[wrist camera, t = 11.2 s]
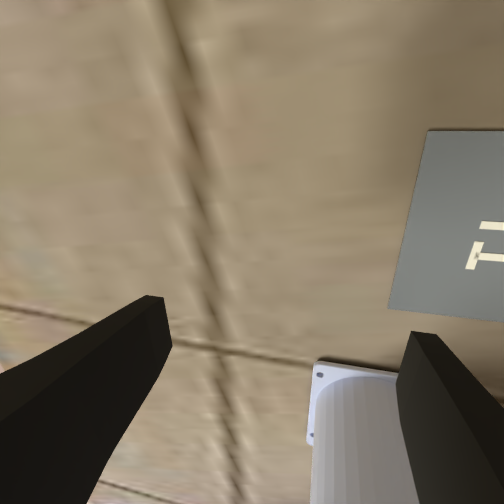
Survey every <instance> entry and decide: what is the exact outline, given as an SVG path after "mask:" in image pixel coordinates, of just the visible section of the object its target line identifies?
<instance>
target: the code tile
mask: <svg viewBox="0 0 504 504" xmlns="http://www.w3.org/2000/svg"><path fill="white" fill-rule="evenodd" d="M387 308H388V309H394V310H402V311H411V312H419V313H428V314H436V315H445V316H453V317H462V318H470V319H479V320H487V321H496V322H504V131H428V132H427V136H426V140H425V145H424V149H423V154H422V158H421V162H420V167H419V171H418V176H417V180H416V184H415V189H414V193H413V197H412V202H411V206H410V211H409V215H408V219H407V224H406V228H405V233H404V237H403V241H402V246H401V250H400V255H399V259H398V263H397V268H396V272H395V277H394V281H393V285H392V290H391V294H390V298H389V303H388V307H387Z"/></svg>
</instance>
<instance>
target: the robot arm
mask: <svg viewBox="0 0 504 504" xmlns="http://www.w3.org/2000/svg"><path fill="white" fill-rule="evenodd" d="M171 348H172V340H171V335H170V330H169V324H168V319H167V314H166V308H165V303H164V298H163V297H156V296H149V295H145V296H143V297H141V298H139V299H138V300H136V301H134V302H132V303H130V304H129V305H127V306H125V307H123V308H122V309H120V310H118V311H117V312H115V313H113V314H111V315H110V316H108V317H106V318H105V319H103V320H101V321H99V322H98V323H96V324H94V325H92V326H91V327H89V328H87V329H86V330H84V331H82V332H80V333H79V334H77V335H75V336H73V337H71V338H69V339H68V340H66V341H64V342H62V343H60V344H58V345H56V346H55V347H53V348H51V349H49V350H47V351H45V352H43V353H42V354H40V355H38V356H36V357H34V358H32V359H30V360H28V361H26V362H24V363H22V364H20V365H18V366H16V367H14V368H11V369H9V370H7V371H5V372H3V373H1V374H0V504H87V502H88V500H89V498H90V496H91V494H92V492H93V490H94V488H95V486H96V484H97V482H98V480H99V478H100V476H101V474H102V472H103V470H104V468H105V466H106V464H107V462H108V460H109V458H110V456H111V455H112V453H113V451H114V449H115V448H116V446H117V444H118V442H119V441H120V439H121V438H122V436H123V434H124V433H125V431H126V429H127V428H128V426H129V425H130V423H131V421H132V420H133V418H134V416H135V415H136V413H137V411H138V410H139V408H140V407H141V405H142V403H143V402H144V400H145V398H146V397H147V395H148V393H149V392H150V390H151V389H152V387H153V385H154V384H155V382H156V380H157V378H158V377H159V375H160V373H161V371H162V369H163V366H164V364H165V362H166V360H167V358H168V355H169V353H170V351H171ZM318 372H321V373H318ZM306 442H307V443H308V444H309V445H311V446H313V456H312V474H311V492H310V504H504V408H503V407H502V406H501V405H500V404H499V403H498V402H497V401H496V400H495V399H494V398H493V397H492V396H491V394H490V393H489V392H488V391H487V390H486V389H485V388H484V387H483V386H482V385H481V384H480V382H479V381H478V380H477V379H476V378H475V377H474V376H473V375H472V374H471V372H470V371H469V370H468V369H467V368H466V367H465V366H464V365H463V364H462V362H461V361H460V360H459V359H458V358H457V357H456V356H455V354H454V353H453V352H452V351H451V350H450V349H449V348H448V347H447V345H446V344H445V343H444V342H443V341H442V340H441V339H440V338H439V337H438V335H437V334H430V333H422V332H415V331H411V333H410V337H409V340H408V343H407V347H406V350H405V353H404V357H403V360H402V363H401V367H400V370H399V373H394V372H388V371H382V370H375V369H369V368H363V367H356V366H350V365H344V364H337V363H331V362H325V361H317V362H315V363H314V366H313V376H312V386H311V397H310V407H309V417H308V427H307V438H306Z"/></svg>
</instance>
